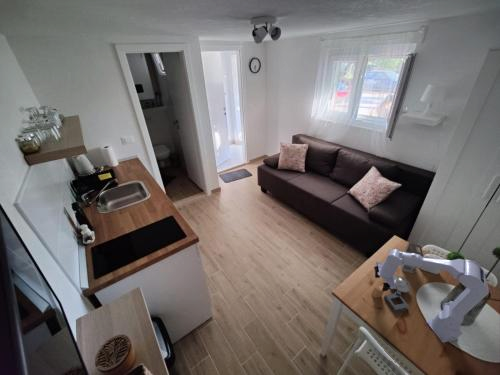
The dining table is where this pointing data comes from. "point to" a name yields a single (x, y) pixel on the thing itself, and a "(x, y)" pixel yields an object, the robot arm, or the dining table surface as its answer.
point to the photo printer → (430, 269)
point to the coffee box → (412, 249)
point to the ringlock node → (398, 294)
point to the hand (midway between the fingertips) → (380, 283)
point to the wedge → (377, 292)
